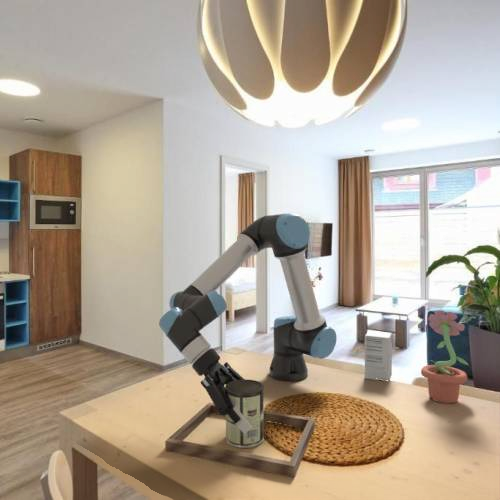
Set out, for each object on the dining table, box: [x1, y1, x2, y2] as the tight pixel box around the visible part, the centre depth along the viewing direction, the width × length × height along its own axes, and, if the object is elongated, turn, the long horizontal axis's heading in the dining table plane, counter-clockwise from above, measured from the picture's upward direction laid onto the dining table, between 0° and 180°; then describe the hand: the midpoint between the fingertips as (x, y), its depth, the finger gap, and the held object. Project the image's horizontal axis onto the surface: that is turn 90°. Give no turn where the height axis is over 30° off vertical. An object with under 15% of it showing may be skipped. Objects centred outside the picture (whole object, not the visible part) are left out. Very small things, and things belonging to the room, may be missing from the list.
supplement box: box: [364, 330, 393, 383], centre depth 151 cm, size 10×9×17 cm
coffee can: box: [224, 378, 265, 449], centre depth 103 cm, size 10×10×14 cm
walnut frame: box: [164, 402, 316, 478], centre depth 103 cm, size 33×25×2 cm
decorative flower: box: [420, 309, 469, 404], centre depth 129 cm, size 15×14×30 cm
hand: (255, 421), depth 102 cm, fingers closed on coffee can, 10 cm apart
